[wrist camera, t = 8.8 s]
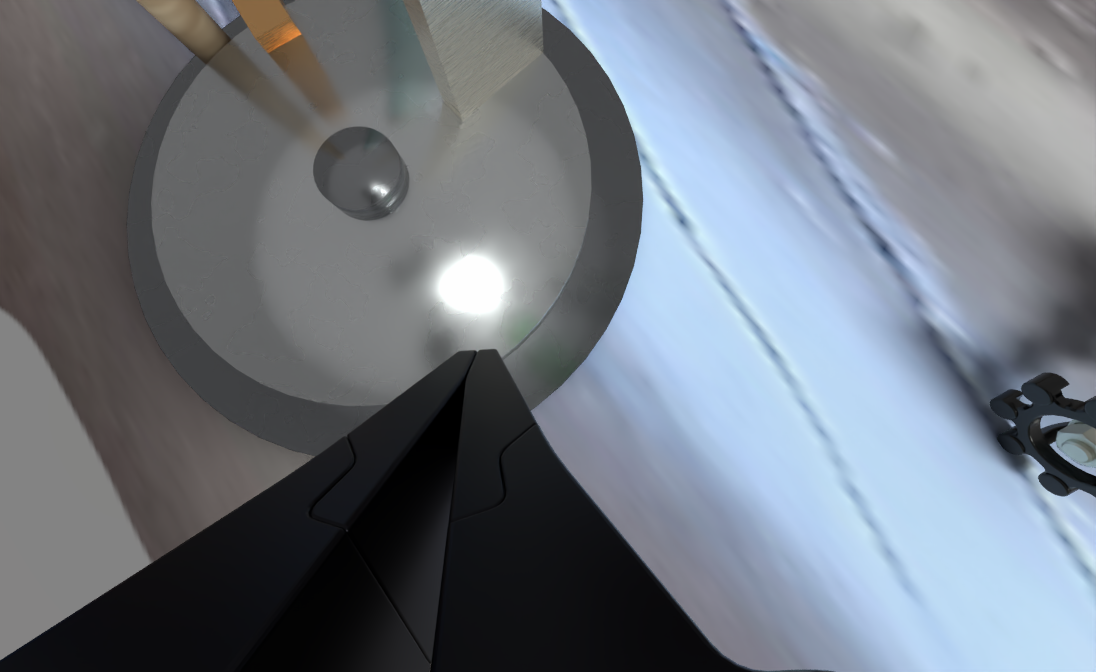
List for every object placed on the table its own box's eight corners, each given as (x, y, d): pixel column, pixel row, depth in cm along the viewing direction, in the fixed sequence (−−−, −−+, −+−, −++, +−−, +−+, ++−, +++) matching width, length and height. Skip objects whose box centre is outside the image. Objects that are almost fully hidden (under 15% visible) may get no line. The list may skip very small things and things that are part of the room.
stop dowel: (229, 81, 25) (127, -14, 19) (201, 65, 25) (92, -35, 19) (250, 53, 25) (155, -50, 19) (222, 37, 26) (120, -70, 20)
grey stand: (350, 500, 22) (124, 618, 10) (72, 158, 24) (-350, -44, 13) (678, 203, 23) (792, 25, 12) (382, -91, 26) (244, -467, 14)
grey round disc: (460, 570, 22) (458, 574, 21) (31, 283, 24) (23, 281, 24) (735, 115, 24) (738, 110, 24) (323, -106, 27) (319, -113, 26)
